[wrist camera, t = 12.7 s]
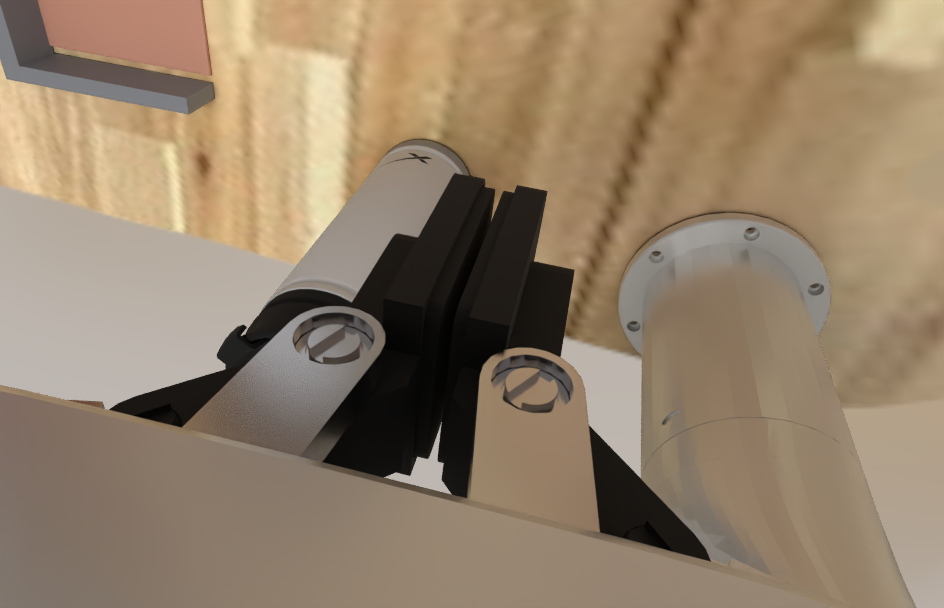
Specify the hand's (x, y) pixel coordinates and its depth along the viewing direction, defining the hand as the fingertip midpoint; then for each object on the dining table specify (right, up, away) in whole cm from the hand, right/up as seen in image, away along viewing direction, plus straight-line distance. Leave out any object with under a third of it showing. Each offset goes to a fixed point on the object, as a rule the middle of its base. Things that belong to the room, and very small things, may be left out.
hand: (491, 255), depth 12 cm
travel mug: (-3, +7, +30) cm, 31 cm away
